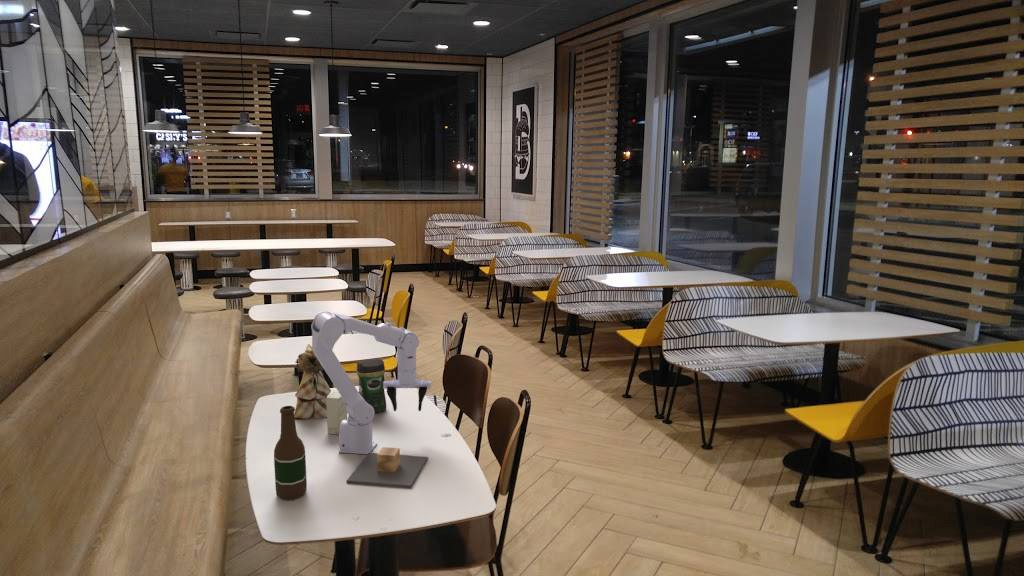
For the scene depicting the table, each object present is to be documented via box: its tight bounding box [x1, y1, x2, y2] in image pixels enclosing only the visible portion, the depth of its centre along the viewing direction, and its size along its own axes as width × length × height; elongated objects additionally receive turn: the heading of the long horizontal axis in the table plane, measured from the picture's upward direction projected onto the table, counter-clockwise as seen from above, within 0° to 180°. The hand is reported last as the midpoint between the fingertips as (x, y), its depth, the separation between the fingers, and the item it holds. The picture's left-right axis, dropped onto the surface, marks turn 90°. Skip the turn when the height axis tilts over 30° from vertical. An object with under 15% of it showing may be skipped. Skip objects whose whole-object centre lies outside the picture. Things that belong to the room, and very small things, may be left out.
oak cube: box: [377, 446, 401, 472], centre depth 193 cm, size 5×5×5 cm
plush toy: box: [294, 343, 332, 420], centre depth 232 cm, size 14×14×25 cm
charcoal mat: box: [346, 452, 429, 489], centre depth 193 cm, size 18×18×1 cm
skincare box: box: [326, 391, 348, 435], centre depth 219 cm, size 6×4×12 cm
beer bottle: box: [273, 405, 308, 501], centre depth 177 cm, size 8×8×24 cm
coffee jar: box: [356, 357, 387, 414], centre depth 237 cm, size 10×8×19 cm
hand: (407, 409), depth 214 cm, fingers open, 7 cm apart
